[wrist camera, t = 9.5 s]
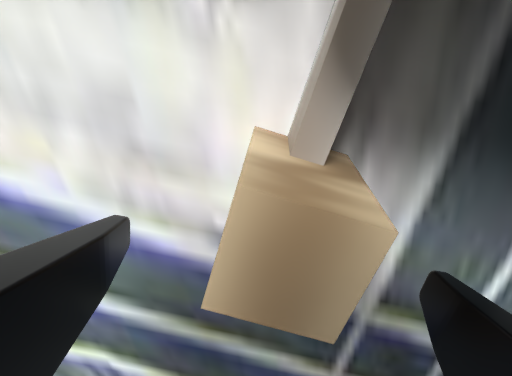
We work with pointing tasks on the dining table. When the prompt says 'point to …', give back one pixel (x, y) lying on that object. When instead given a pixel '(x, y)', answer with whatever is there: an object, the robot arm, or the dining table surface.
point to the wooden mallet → (306, 203)
